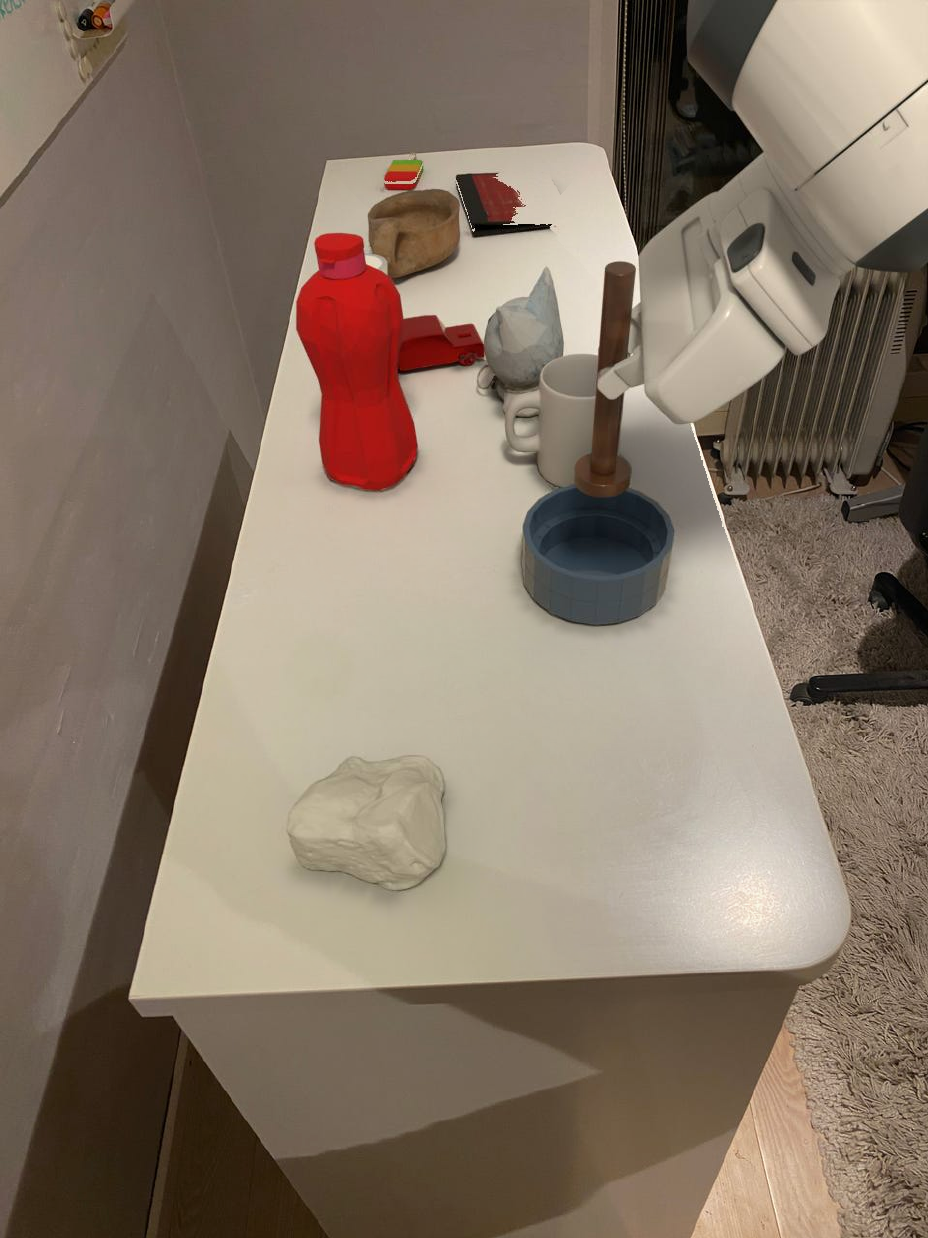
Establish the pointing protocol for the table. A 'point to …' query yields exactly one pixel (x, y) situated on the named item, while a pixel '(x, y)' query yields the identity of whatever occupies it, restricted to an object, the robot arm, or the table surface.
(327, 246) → the water bottle
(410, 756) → the decorative stone
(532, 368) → the figurine
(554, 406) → the mug
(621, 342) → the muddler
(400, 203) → the bowl
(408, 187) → the popsicle
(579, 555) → the stir bowl
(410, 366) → the toy car
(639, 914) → the table surface
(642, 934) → the table surface
